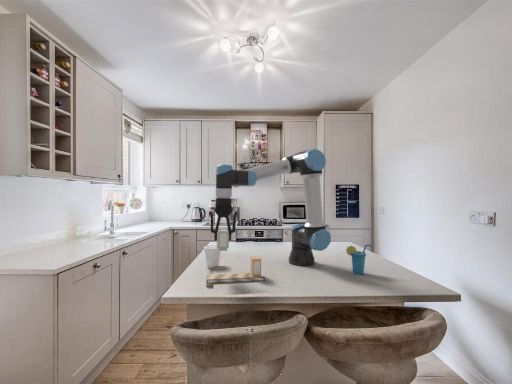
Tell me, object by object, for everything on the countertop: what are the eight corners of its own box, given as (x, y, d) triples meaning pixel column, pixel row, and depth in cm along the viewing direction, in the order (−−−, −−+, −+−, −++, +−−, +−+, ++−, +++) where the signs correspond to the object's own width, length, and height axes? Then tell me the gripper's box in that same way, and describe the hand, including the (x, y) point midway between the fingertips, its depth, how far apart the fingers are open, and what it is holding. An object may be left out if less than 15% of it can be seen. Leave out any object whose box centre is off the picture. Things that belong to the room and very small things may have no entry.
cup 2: (368, 270, 141) (368, 242, 141) (376, 275, 133) (376, 245, 133) (343, 271, 139) (343, 243, 139) (350, 276, 131) (351, 246, 131)
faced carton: (258, 274, 128) (258, 255, 128) (261, 278, 122) (261, 259, 122) (250, 274, 128) (250, 256, 128) (252, 278, 122) (252, 259, 122)
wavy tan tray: (259, 275, 131) (259, 269, 131) (264, 283, 119) (264, 277, 119) (206, 277, 126) (206, 271, 126) (206, 286, 115) (206, 279, 115)
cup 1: (218, 270, 139) (218, 249, 139) (200, 268, 141) (200, 248, 141) (224, 265, 149) (224, 245, 149) (207, 263, 151) (207, 244, 151)
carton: (226, 247, 127) (226, 229, 127) (227, 250, 121) (227, 231, 121) (217, 248, 126) (218, 229, 126) (218, 250, 120) (219, 231, 120)
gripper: (240, 197, 129) (239, 245, 129) (205, 197, 126) (204, 246, 125) (242, 198, 122) (241, 248, 121) (205, 197, 118) (204, 249, 118)
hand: (222, 247), depth 123 cm, fingers closed on carton, 4 cm apart
